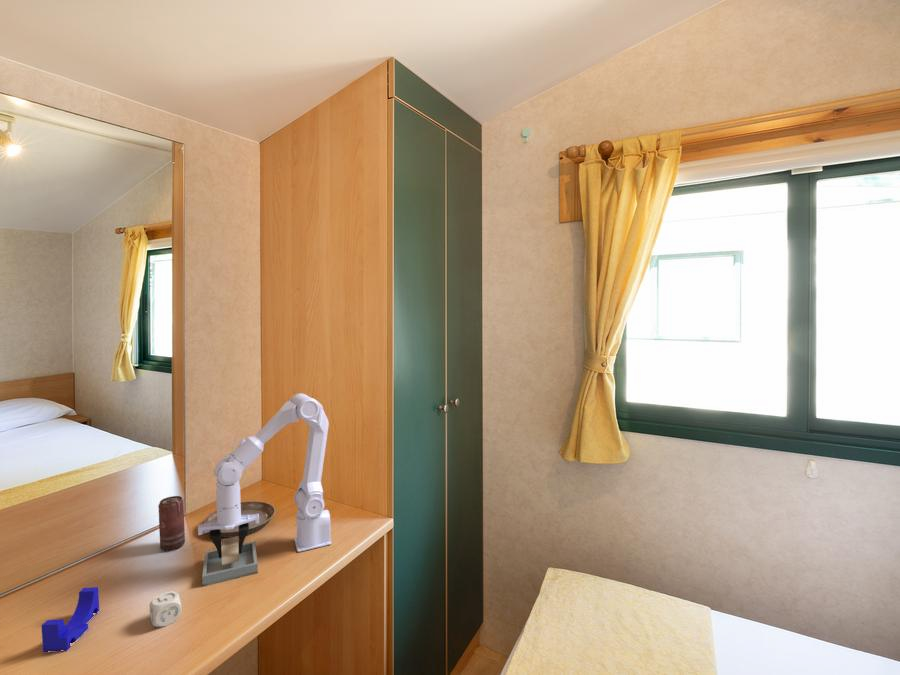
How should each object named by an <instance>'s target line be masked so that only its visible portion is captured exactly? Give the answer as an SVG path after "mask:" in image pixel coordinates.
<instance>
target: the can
mask: <svg viewBox="0 0 900 675" xmlns="http://www.w3.org/2000/svg"><path fill="white" fill-rule="evenodd" d="M184 504H185V503H184V499H183V498H182V496H180V495H173V496H172V495H171V496H168V497H164V498H163V499H161V500H160V501H159V503H158V525H159V526H158V528H159V529H158V530H159V548H160V550H161V551H163V552H172V551H176V550H179V549H181V548H182V547H184V544H185V543H186V536H185V534H186V533H185V510H184V508H185V506H184Z"/></svg>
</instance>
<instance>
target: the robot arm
mask: <svg viewBox="0 0 900 675" xmlns="http://www.w3.org/2000/svg"><path fill="white" fill-rule="evenodd" d="M299 418H300V419H302V420H303V421H304V422H305V423H306V424H307V426H309V432H308V438H307V439H308V440H307V447H306V454H305V461H304V468H303V473H302V474H303V476H302V479H301V481H300V482H299V484H298V488H297V491H296V492H295V494H294V497H293V501H294V502H293V503H294V504H295V506H297V511H296V513H295V514H296V537H294V538H293V540H294V544H295V547H296V551H297V552H298V553H300V552H304V551H308V550H313V549H316V548H322V547H326V546H331V544H332V535H331V534H332V531H331V514H330V510H328V509H325V501H324V489H323V485H322V476H323V469H324V461H325V456H326V454H325V453H326V447H327V440H328V433H329V426H330V425H329V419H328V417H327V414H326V413H325V410H324V407H323V405H322V403H320V401H318V400H316V399H315V398H313V397H310V396H309V395H307V394H306V393H301V392H300V393H296V394H294V395H293V396H292V397H291V398H290V400H288V401H286V402H284V404H283V405H282V406H281V408H280V409H279V410H278V411H277V412H276V413H275V414H274V415H273V416H272V417H271V418H270V419H269V420H268V422H266V423H265V425H264V426H263V427H262V428H260V430H259V431H258V432H257V433H256V434H255V435H253V436H251V435H250V436H246V438H245V439H244V438H242V439H240V440H239V441H238V443H239V444H238V445H237V447H235V448H234V449H233V450H232V451H231V452H230V453H227V454H226V455H225V456H224V459H223V458H222V459H221V460H219V461H218V462H217V463H216V464H215V467H214V469H213V473H214V476H215V477H216V484H215V486H216V488H215V490H216V491H215V493H216V494H215V495H216V497H215V498H216V510H217V520H214V521H211V522H208V523H205V524H204V523H200V524H198V525H197V535H198V536H201V535H203V534H206V533H209V538H210V540H211V542H212V543H213V544H214V546H215V550H216V549H217V551H218V555H219V558H222V549H221V544H222V537H221V530H222V529H225V530H230V529H233V528H234V527H237V526H239V536H238V546H239V554H241V552H242V546H243V544H244V542H245V540H246V539H245V538H246V537H247V535H248V534H247V533H248V530H249V524H252V523H255V524H258V523H259V514H252V515H241V502H242V501H241V500H242V498H241V485H240V480H241V478H242V475H243V471H245V470H246V469H247V468H248V467H249V466H250V465H251V464H252V463H253V462H254V461H255V460H256V459H257V458H259V456H260V455H261V454H262V453H263V452H264V446H265V443H267V442H268V441H269V440H271V438H272V437H274V435H277V433H278V432H279V431H280V430H282V429H283V428H284V427H285V426H286V425H287V424H293V423H299V422H300V419H299Z"/></svg>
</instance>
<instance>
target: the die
mask: <svg viewBox="0 0 900 675" xmlns="http://www.w3.org/2000/svg"><path fill="white" fill-rule="evenodd" d="M148 609H149V617H150V621H151V624H152V627H156V628H163V627H167V626H169V625H171V624H173V623H174V622H175V621H177V620H178V619H179V618H180V616H181V614H182V602H181V598H180V595H179V593H178V592H176V591H173V590H172V591H171V590H170V591H165V592H162V593H159V594H158V595H156V596H155V597H153V599H152V600H151V601H150V602H149V608H148Z"/></svg>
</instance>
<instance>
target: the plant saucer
mask: <svg viewBox="0 0 900 675" xmlns="http://www.w3.org/2000/svg"><path fill="white" fill-rule="evenodd" d="M275 513H276V509H275V507H274V505H272V504H270V503H268V502H265V501H253V500H252V501H243V502H242V501H241V515H252V514H259V523H258V524H255V523H252V524H249V530H248V533H247V535H250V534H252V533H256V532H257V531H260V530H261V529H262V528H264V527H266V525H268V524H269V523H270V521H271V520H272V518H273V517H274V515H275ZM265 514H267V515H268V516H267V517H266V515H265ZM214 520H217V509H216V510H214V511H213V512H211V513H209V514H208V515H207V516H206V518H205V519H204V521H203V524H205V523H208V522H211V521H214ZM236 536H238V537H239V526H237V527H234V528H233V529H230V530H225V529H222V530H221V538H222V537H223V538H231V537H236Z"/></svg>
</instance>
